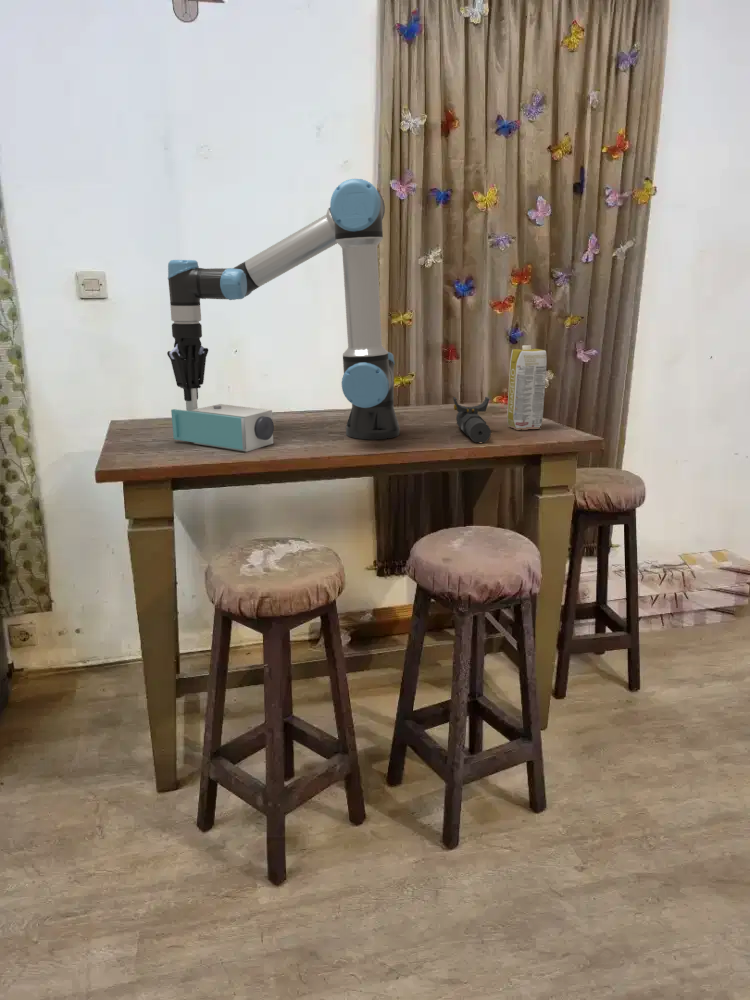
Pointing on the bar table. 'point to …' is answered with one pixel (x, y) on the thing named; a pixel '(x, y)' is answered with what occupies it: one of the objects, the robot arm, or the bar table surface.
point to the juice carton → (526, 387)
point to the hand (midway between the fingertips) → (192, 412)
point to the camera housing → (247, 424)
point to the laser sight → (473, 421)
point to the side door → (209, 429)
